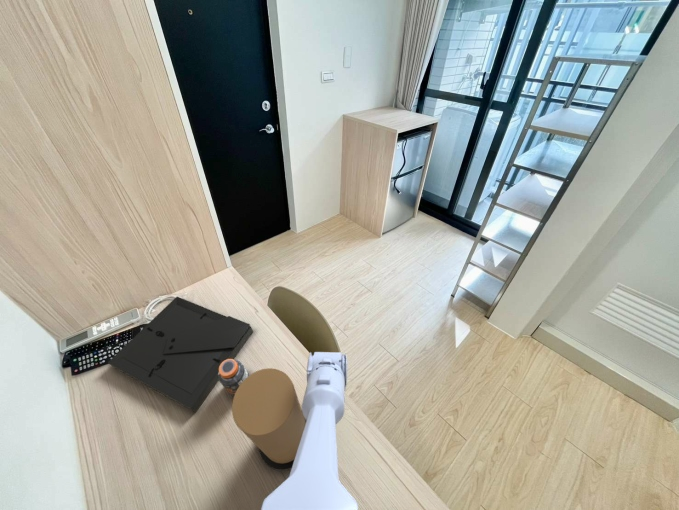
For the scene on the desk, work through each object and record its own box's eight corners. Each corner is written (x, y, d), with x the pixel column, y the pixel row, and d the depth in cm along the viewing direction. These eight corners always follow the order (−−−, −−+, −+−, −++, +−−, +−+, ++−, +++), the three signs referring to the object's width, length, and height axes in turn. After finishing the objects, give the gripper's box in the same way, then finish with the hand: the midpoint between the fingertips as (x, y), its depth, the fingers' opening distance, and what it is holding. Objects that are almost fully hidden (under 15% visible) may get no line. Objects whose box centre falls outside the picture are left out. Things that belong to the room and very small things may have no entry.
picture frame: (253, 331, 80) (180, 302, 88) (250, 324, 77) (175, 294, 85) (195, 412, 65) (114, 367, 72) (189, 407, 62) (104, 360, 70)
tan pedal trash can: (340, 423, 62) (340, 384, 45) (273, 475, 55) (244, 451, 38) (317, 385, 68) (310, 338, 51) (255, 428, 61) (223, 390, 44)
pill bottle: (223, 392, 68) (207, 373, 60) (237, 370, 72) (225, 350, 64) (242, 401, 66) (229, 384, 58) (256, 378, 70) (246, 359, 62)
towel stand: (305, 475, 56) (304, 475, 55) (250, 464, 57) (249, 463, 57) (317, 412, 65) (317, 411, 64) (269, 403, 66) (269, 402, 65)
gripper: (316, 351, 57) (320, 377, 66) (298, 430, 46) (305, 447, 56) (349, 356, 56) (348, 381, 65) (339, 437, 46) (339, 453, 55)
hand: (330, 412), depth 61 cm, fingers closed
